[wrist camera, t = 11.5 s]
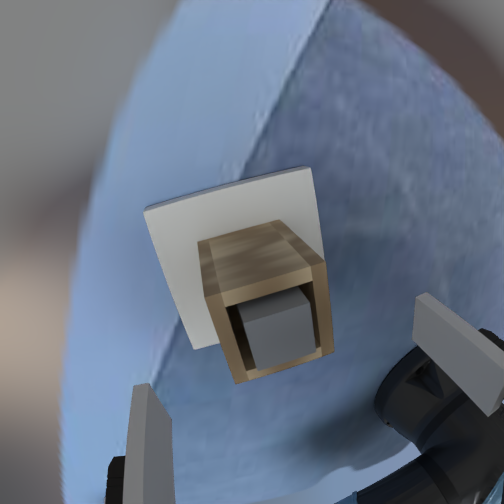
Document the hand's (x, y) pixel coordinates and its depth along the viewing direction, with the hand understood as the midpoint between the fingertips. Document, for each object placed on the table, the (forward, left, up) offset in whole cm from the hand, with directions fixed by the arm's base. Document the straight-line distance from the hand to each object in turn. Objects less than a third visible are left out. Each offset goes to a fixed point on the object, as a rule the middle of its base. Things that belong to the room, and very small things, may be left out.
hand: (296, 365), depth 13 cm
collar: (0, 0, -11) cm, 11 cm away
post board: (0, 0, -12) cm, 12 cm away
